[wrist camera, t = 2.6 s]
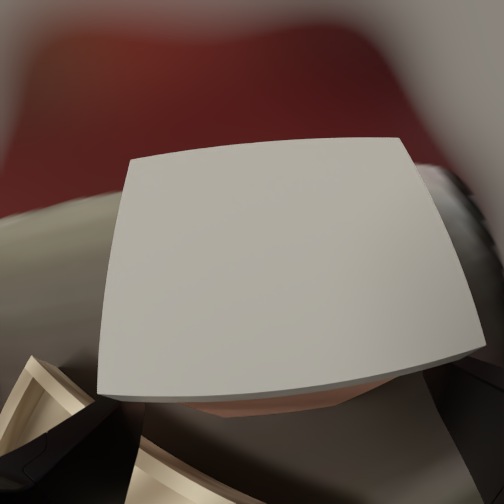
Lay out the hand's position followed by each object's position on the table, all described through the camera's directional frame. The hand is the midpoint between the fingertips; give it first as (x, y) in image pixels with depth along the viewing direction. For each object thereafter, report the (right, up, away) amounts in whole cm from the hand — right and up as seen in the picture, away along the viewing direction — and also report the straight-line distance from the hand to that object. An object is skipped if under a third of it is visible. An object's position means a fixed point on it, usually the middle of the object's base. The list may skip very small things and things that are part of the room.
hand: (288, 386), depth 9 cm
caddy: (0, -3, +9) cm, 10 cm away
